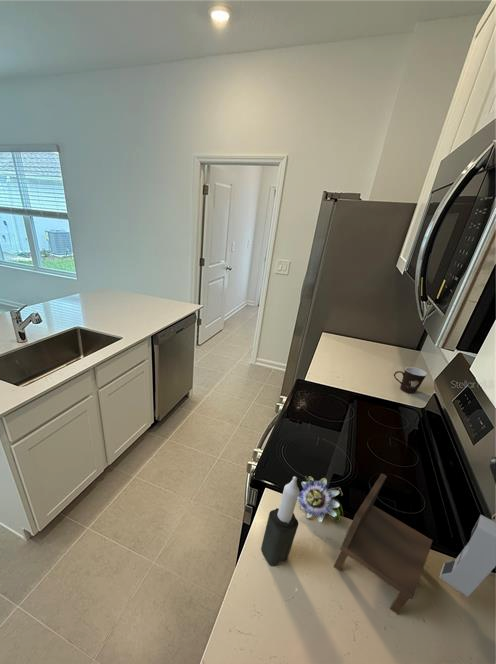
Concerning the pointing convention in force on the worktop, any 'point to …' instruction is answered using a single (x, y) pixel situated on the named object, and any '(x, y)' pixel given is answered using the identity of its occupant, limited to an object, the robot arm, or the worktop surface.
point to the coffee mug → (411, 379)
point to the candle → (281, 527)
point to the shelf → (386, 548)
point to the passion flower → (319, 499)
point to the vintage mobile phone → (473, 559)
